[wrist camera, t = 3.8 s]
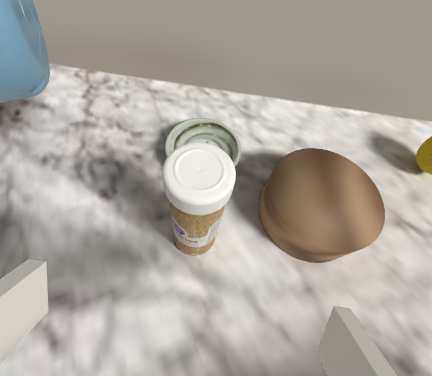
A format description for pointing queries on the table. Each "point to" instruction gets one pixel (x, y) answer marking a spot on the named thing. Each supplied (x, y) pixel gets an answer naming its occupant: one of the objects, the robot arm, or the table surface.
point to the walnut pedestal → (320, 206)
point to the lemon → (425, 156)
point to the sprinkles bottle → (197, 193)
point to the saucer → (204, 136)
